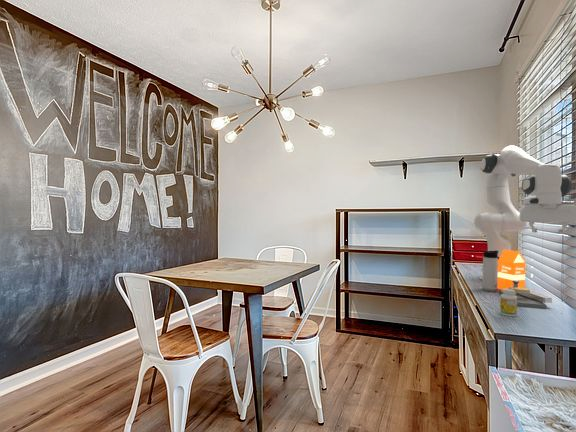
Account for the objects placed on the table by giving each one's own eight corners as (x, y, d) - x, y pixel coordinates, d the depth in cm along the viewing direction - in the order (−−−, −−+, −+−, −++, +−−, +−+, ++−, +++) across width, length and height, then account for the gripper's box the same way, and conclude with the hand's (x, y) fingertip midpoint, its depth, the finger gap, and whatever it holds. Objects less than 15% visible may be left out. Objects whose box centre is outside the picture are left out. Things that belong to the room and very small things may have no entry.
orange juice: (508, 287, 175) (509, 249, 175) (525, 291, 167) (526, 251, 166) (497, 288, 173) (497, 249, 172) (512, 292, 164) (513, 251, 164)
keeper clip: (508, 295, 152) (508, 286, 152) (526, 297, 150) (527, 288, 150) (510, 298, 148) (510, 288, 148) (529, 299, 146) (529, 290, 146)
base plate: (499, 292, 164) (499, 289, 164) (529, 295, 159) (529, 292, 159) (512, 305, 142) (512, 301, 142) (546, 308, 138) (546, 305, 138)
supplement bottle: (518, 317, 126) (519, 292, 126) (501, 315, 128) (502, 290, 128) (514, 313, 131) (515, 288, 131) (498, 311, 133) (499, 287, 133)
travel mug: (499, 292, 165) (500, 251, 165) (485, 291, 166) (486, 251, 166) (494, 289, 171) (495, 250, 171) (480, 288, 172) (481, 249, 172)
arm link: (507, 291, 160) (507, 279, 160) (516, 291, 160) (516, 279, 160) (543, 303, 139) (543, 290, 139) (553, 303, 140) (553, 290, 140)
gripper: (575, 202, 144) (574, 234, 143) (518, 201, 152) (518, 232, 151) (581, 200, 138) (581, 234, 138) (522, 199, 146) (521, 231, 145)
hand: (547, 233), depth 144 cm, fingers open, 8 cm apart
